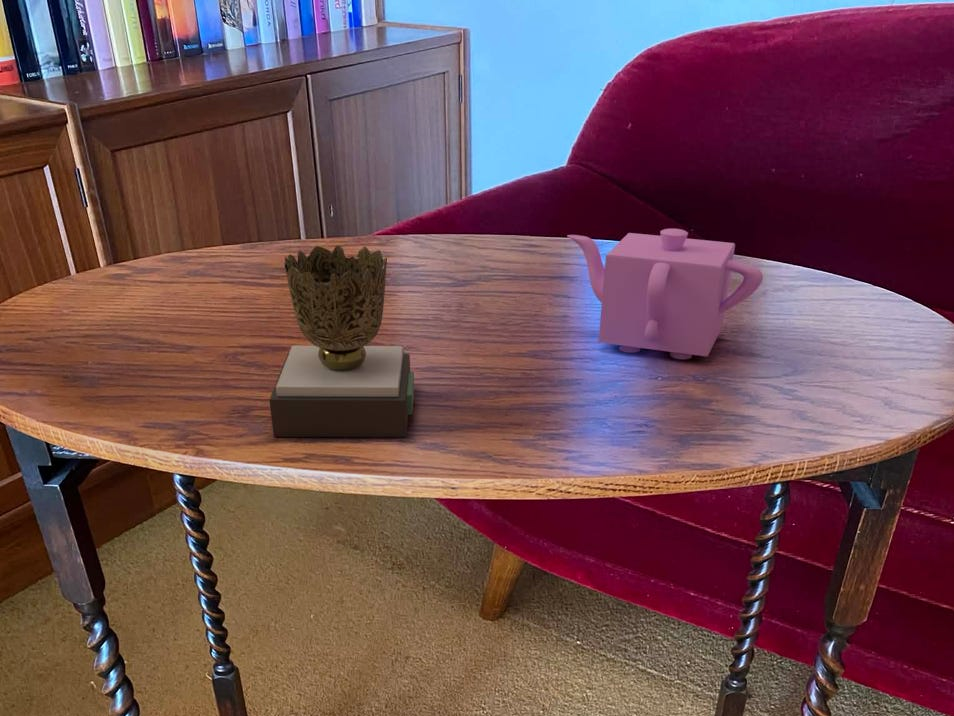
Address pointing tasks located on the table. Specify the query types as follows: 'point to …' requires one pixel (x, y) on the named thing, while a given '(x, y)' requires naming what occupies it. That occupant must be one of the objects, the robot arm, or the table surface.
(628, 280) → the teapot
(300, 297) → the cup
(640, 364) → the table surface
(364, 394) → the scale
